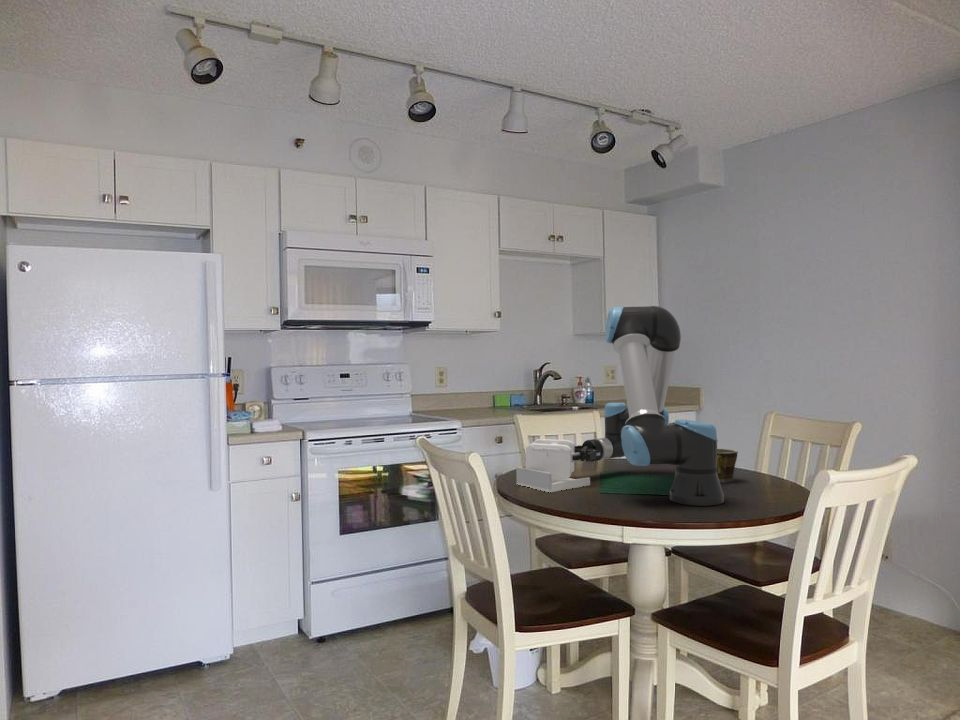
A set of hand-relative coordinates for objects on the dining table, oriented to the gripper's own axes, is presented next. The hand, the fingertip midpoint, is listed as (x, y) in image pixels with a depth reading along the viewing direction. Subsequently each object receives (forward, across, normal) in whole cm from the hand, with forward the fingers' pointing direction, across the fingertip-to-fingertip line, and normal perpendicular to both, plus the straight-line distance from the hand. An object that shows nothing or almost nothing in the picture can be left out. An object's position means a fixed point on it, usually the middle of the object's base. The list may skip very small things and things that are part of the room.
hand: (550, 456), depth 227 cm
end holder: (-1, 0, -10) cm, 10 cm away
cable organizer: (-1, 0, -7) cm, 7 cm away
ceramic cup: (-47, -32, -10) cm, 58 cm away
